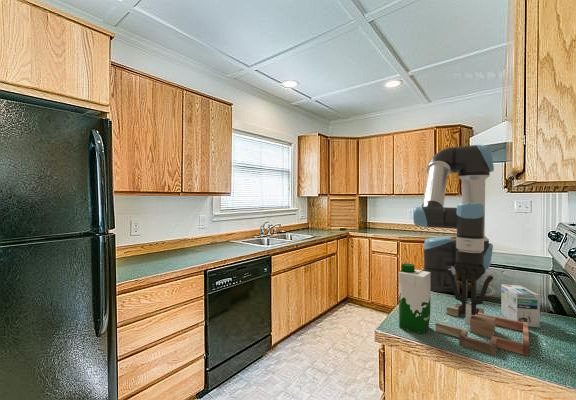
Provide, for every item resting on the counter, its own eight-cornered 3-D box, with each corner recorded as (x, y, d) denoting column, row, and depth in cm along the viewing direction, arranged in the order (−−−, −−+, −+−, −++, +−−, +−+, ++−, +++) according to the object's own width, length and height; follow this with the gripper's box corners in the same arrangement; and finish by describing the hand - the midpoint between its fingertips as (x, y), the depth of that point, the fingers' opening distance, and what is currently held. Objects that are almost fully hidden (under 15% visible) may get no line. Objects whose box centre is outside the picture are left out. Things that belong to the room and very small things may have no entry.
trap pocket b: (462, 338, 87) (462, 329, 87) (496, 347, 82) (496, 338, 82) (459, 345, 83) (459, 336, 83) (495, 355, 78) (495, 345, 78)
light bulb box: (540, 328, 94) (540, 294, 94) (516, 326, 95) (517, 293, 95) (521, 314, 105) (521, 284, 104) (500, 313, 106) (500, 283, 106)
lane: (447, 312, 106) (447, 306, 106) (527, 331, 92) (527, 323, 92) (435, 331, 92) (435, 323, 92) (528, 356, 77) (529, 346, 77)
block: (472, 325, 96) (472, 313, 96) (495, 331, 92) (495, 318, 92) (470, 332, 91) (470, 319, 91) (493, 338, 87) (493, 325, 87)
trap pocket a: (456, 310, 109) (456, 303, 109) (483, 316, 103) (483, 309, 103) (454, 314, 105) (454, 307, 105) (482, 320, 99) (482, 313, 99)
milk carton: (404, 319, 101) (405, 261, 100) (433, 326, 95) (433, 265, 95) (395, 327, 94) (395, 266, 94) (425, 336, 88) (425, 270, 88)
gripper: (444, 249, 95) (443, 321, 95) (493, 255, 86) (492, 333, 87) (449, 246, 101) (448, 314, 101) (495, 251, 92) (494, 325, 93)
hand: (468, 323), depth 94 cm, fingers closed
